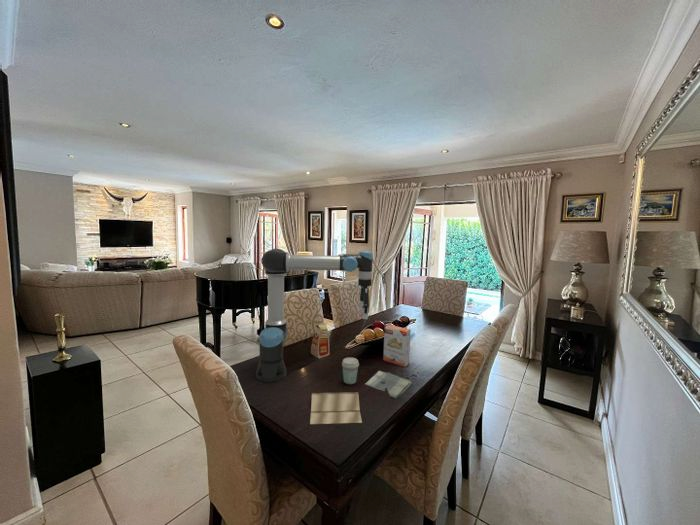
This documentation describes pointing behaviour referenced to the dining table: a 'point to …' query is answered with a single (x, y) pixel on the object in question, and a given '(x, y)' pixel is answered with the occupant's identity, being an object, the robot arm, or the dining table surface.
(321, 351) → the milk carton
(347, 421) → the laid plank
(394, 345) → the cracker box
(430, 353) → the dining table surface
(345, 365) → the coffee cup
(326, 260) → the robot arm
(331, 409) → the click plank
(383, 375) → the dish towel
